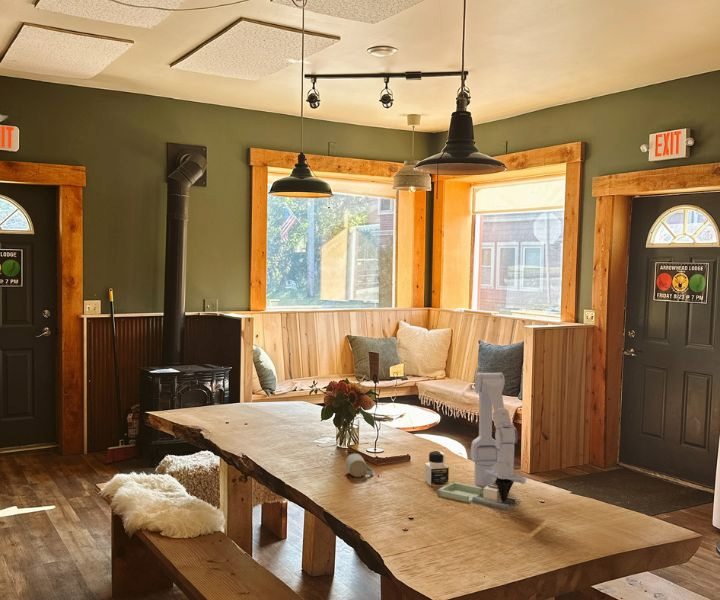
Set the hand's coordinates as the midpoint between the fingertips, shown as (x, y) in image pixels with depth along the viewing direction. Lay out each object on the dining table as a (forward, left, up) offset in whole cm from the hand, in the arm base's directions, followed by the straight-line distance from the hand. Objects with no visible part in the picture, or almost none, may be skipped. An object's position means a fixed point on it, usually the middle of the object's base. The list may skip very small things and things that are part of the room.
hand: (504, 499), depth 261 cm
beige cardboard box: (0, -4, -2) cm, 4 cm away
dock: (0, -4, -2) cm, 4 cm away
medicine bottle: (-9, -32, -3) cm, 33 cm away
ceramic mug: (0, -61, -3) cm, 61 cm away
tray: (0, -17, -2) cm, 17 cm away
